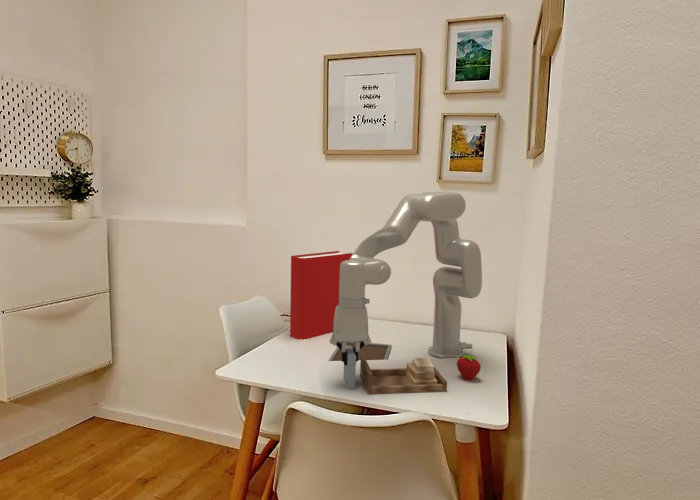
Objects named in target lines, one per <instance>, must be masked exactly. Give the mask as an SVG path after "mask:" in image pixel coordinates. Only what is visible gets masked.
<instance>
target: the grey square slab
mask: <svg viewBox="0 0 700 500" xmlns="http://www.w3.org/2000/svg"><path fill="white" fill-rule="evenodd" d="M346 349H347V365H344V364H343V376H342V377H343V380H344V381H345V385H346V388H347V391H353V390H354V391H355V390H356V371H357V369H356V368H357V367H356V365H357V361H356V356H355V353H354V351H353V349H352V347H351V345H350V346H346Z"/></svg>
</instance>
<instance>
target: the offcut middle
mask: <svg viewBox="0 0 700 500" xmlns="http://www.w3.org/2000/svg"><path fill="white" fill-rule="evenodd" d="M406 368H407V369H406V371H407V372H408V373H409V374H410V375H411V376H412V377H413V379H414V380H415V381H418V380H434V379H435V372H434V373H416V371H415V368H414V366H413V362H411V363H406Z"/></svg>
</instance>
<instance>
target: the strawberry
mask: <svg viewBox="0 0 700 500" xmlns="http://www.w3.org/2000/svg"><path fill="white" fill-rule="evenodd" d="M470 352H472V349H470ZM461 356H462V357H460V358H457V361H456V367H457V370H458V372H459V374H460V375H461V377H462V378H463V379H464V380H467V381H472V380H473V379H475V378H476V377H477V376H478V374H479V373H480V372H481V368H482V366H481V363H480V362H479V361H478V360H479V358H477V357H476V355H474V354H473V355H472V354H470V355H467V354H463V355H461Z"/></svg>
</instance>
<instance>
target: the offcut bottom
mask: <svg viewBox="0 0 700 500" xmlns="http://www.w3.org/2000/svg"><path fill="white" fill-rule="evenodd" d="M406 378H407V379H408V381H409V382H410V384H411V385H423V384H437V383H438V381H437V380H436V378H435V379H434V380H418V381H415V380H414V379H413V377H412V376H411V375H410V374H409V373H408V372H407V371H406Z"/></svg>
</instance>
